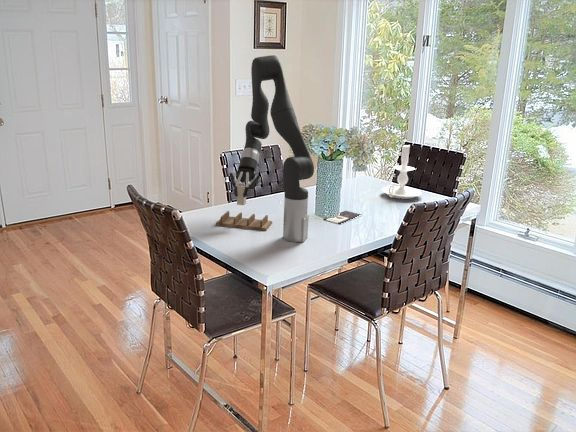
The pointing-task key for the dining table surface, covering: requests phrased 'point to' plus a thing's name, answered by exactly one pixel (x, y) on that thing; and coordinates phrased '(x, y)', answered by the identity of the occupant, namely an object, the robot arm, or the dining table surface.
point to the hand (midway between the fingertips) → (240, 196)
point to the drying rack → (244, 222)
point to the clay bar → (241, 195)
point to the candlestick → (402, 179)
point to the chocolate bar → (343, 217)
